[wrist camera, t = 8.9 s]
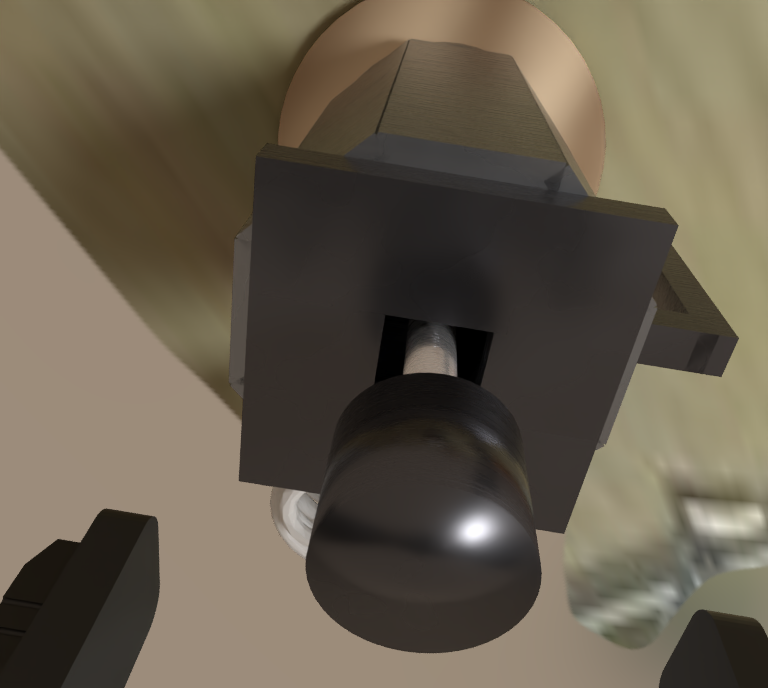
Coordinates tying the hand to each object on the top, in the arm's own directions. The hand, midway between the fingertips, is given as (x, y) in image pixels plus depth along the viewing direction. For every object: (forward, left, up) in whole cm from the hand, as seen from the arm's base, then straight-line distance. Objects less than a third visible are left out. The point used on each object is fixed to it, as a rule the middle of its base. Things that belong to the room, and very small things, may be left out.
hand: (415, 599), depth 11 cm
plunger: (0, 0, -20) cm, 20 cm away
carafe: (-2, 0, -23) cm, 23 cm away
